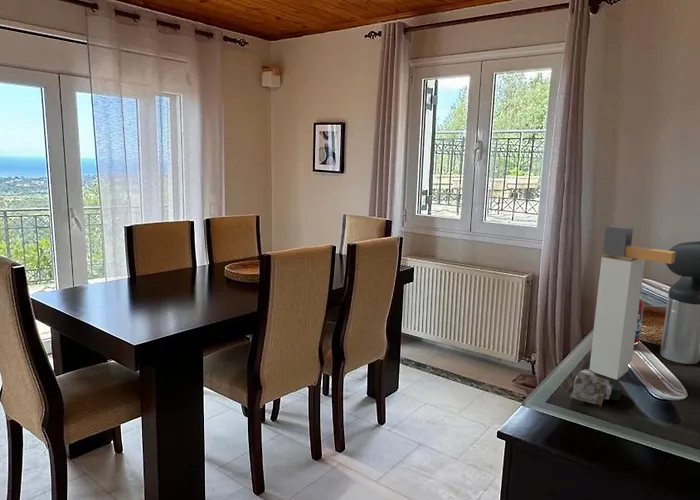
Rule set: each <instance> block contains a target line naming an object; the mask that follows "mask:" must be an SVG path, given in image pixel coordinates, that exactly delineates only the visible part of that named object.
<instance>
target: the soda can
mask: <svg viewBox="0 0 700 500" xmlns="http://www.w3.org/2000/svg"><path fill="white" fill-rule="evenodd" d="M642 299H643V297H642V296H641V295H640V302H639V310H638V318H637V325H636V333H635V341H634V343H636V342H639V343H640V339H641V338H640V337H641V332H642V331H641V330H642V323H643V315H644V307H645V303H644V300H642Z"/></svg>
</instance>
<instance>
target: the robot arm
mask: <svg viewBox="0 0 700 500" xmlns="http://www.w3.org/2000/svg"><path fill="white" fill-rule="evenodd" d="M668 251H674V252H676V254H675V261H674V263H672V264H668V263H665V265H666V266H667V268H668V269H669V271H670V272H672V273H673V274H675V275H677V276H680V278H678V279H679V280H677V281H676V282H675V283H673V284H672V285H670V287H669V290H668V297H667V302H666V311H665V318H664V324H663V331H662V332H663V333H662V338H661V339H662V340H661V344H660V353H659V354H660V356H661V357H662V358H664V359H666V360H668V361H672V362H674V363H679V364H685V365H686V364H687V365H693V364H698V363H699V361H700V240H699V241H698V240H697V241H688V242H681V243H677V244H675V245H674V246H672V247H671V248H670V249H668Z"/></svg>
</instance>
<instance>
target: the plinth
mask: <svg viewBox="0 0 700 500" xmlns="http://www.w3.org/2000/svg"><path fill="white" fill-rule="evenodd" d="M645 263H646V260H643V259H637V258H631V257H620V256H614V255H608V254H603V253H602V254H601V260H600V269H599V277H598V286H597V297H596V306H595V315H594V325H593V333H592V340H591V341H592V343H591V351H590V362H589V368H588V369H590V370H592V371H593V372H594V373H595V374H598V375H601V376H605V377H608V378H610V379H613V380H619V379H620V378H621V377H622V376H624V375H625V374H626V373H628V372H629V371H628V364H629V363H630V362H631V361H632V362H633V355H634V347H635V346H634V341H635V333H636V325H637V318H638V310H639V302H640V296H641V293H642V286H643V277H644V269H645Z"/></svg>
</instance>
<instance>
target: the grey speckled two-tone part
mask: <svg viewBox="0 0 700 500" xmlns="http://www.w3.org/2000/svg"><path fill="white" fill-rule="evenodd" d="M572 387H573V389H572V392H571V396H570V397H571V399H575V400H578V401H581V402H584V403H586V402H587V404H589V403H592V404H599V405H601V406H602V404H603V402H604V400H612V401H613V400H614V401H619V400H620V398H621V396H622V393H623V390H624V389H623V388H622V386H621V385H619V384H618V383H617V382H616V383H615V382H614V381H612V380H609V379H607V378H604V377H601V376H597V375H596V373H595V372H593V371H592V370H590V369H589V368H585V369H583V370H581V371H578V373H577V375H576V376H575V378H574V380H573V385H572ZM592 404H591V405H592Z"/></svg>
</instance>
